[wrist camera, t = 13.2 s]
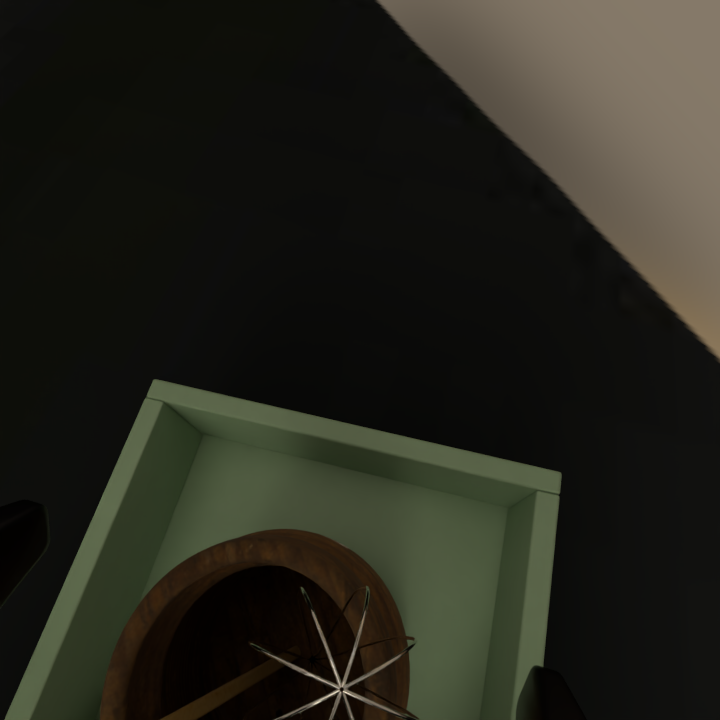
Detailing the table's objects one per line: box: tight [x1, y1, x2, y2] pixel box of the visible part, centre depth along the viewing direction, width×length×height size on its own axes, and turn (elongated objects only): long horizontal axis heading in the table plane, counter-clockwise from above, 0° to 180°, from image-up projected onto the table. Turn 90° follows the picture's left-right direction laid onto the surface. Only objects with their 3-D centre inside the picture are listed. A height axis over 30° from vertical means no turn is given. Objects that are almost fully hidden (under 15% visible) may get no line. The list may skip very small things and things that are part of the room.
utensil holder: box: [100, 529, 421, 720], centre depth 10 cm, size 6×6×12 cm
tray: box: [5, 379, 562, 720], centre depth 14 cm, size 12×12×4 cm
